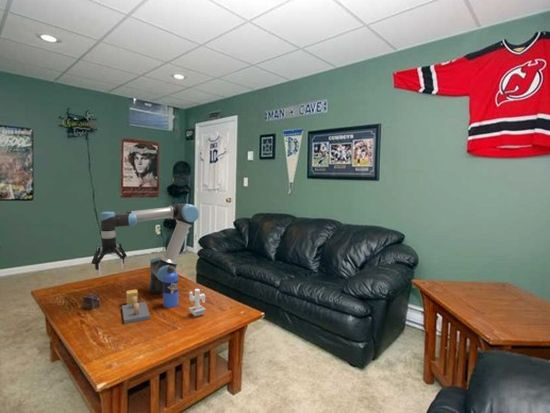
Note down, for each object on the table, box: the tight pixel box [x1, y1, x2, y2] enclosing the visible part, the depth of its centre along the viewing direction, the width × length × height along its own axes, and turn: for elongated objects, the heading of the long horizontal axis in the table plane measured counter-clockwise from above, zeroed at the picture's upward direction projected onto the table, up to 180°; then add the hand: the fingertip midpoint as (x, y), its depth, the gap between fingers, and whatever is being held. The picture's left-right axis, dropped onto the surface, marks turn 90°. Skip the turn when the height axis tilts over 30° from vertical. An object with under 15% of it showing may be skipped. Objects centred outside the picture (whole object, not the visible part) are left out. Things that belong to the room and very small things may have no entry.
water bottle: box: [162, 265, 179, 309], centre depth 189 cm, size 9×9×25 cm
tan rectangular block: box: [125, 289, 139, 305], centre depth 190 cm, size 6×6×8 cm
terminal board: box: [121, 296, 151, 325], centre depth 176 cm, size 13×22×8 cm, turn 29°
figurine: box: [188, 288, 207, 317], centre depth 177 cm, size 7×9×15 cm
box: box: [82, 293, 100, 310], centre depth 184 cm, size 6×6×7 cm
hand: (110, 271), depth 185 cm, fingers open, 13 cm apart
